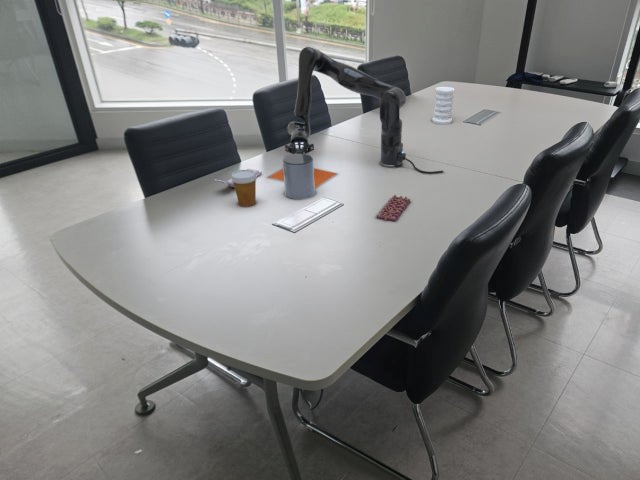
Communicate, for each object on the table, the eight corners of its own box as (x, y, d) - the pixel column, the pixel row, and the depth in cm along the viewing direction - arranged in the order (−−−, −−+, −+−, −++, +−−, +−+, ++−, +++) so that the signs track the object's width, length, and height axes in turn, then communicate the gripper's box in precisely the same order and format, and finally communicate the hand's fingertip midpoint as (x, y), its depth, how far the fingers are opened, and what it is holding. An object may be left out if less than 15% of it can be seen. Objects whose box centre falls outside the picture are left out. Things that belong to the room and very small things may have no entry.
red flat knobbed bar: (376, 218, 187) (376, 214, 186) (392, 199, 202) (392, 194, 201) (394, 222, 185) (394, 217, 184) (410, 201, 200) (410, 197, 199)
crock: (321, 191, 208) (319, 157, 200) (302, 201, 199) (300, 166, 191) (298, 185, 213) (295, 151, 205) (279, 194, 204) (275, 160, 196)
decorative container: (453, 124, 289) (456, 91, 279) (433, 123, 289) (435, 91, 279) (450, 118, 299) (454, 86, 289) (431, 118, 299) (433, 86, 289)
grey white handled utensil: (213, 179, 202) (250, 159, 221) (215, 193, 205) (251, 172, 224) (225, 182, 200) (262, 161, 219) (227, 196, 203) (263, 174, 222)
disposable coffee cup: (264, 200, 200) (260, 171, 193) (251, 210, 192) (247, 180, 186) (243, 196, 202) (239, 168, 196) (229, 206, 195) (225, 176, 188)
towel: (337, 174, 224) (337, 173, 224) (314, 188, 210) (314, 187, 210) (292, 164, 233) (292, 163, 233) (268, 177, 219) (268, 176, 219)
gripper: (283, 133, 221) (282, 146, 206) (313, 132, 222) (315, 144, 208) (285, 150, 225) (284, 163, 210) (314, 149, 226) (316, 162, 212)
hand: (299, 154), depth 209 cm, fingers closed
